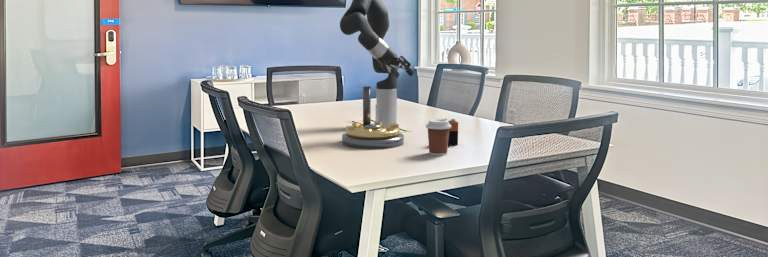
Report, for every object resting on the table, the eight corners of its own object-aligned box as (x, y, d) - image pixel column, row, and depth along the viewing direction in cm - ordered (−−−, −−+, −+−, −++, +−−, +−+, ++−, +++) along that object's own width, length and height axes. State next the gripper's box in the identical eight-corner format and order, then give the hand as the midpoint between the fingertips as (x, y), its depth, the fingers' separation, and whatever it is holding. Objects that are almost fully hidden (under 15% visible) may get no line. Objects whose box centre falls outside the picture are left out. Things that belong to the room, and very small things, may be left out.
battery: (438, 143, 249) (438, 118, 247) (455, 143, 250) (455, 118, 248) (440, 145, 245) (441, 119, 243) (458, 145, 245) (458, 119, 244)
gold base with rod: (336, 133, 252) (335, 87, 250) (381, 128, 264) (381, 85, 261) (363, 141, 235) (363, 92, 232) (410, 136, 246) (410, 89, 243)
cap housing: (331, 141, 253) (331, 133, 253) (382, 135, 266) (382, 128, 266) (362, 151, 233) (362, 143, 233) (415, 144, 246) (415, 137, 246)
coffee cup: (449, 151, 234) (449, 118, 232) (452, 156, 225) (453, 122, 223) (424, 151, 234) (424, 118, 232) (426, 156, 225) (427, 122, 223)
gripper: (396, 41, 251) (420, 66, 259) (372, 45, 261) (397, 69, 270) (388, 56, 248) (413, 81, 256) (364, 59, 258) (389, 83, 267)
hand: (405, 75), depth 263 cm, fingers open, 8 cm apart
